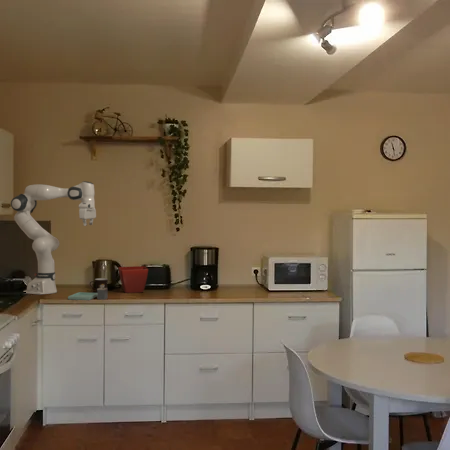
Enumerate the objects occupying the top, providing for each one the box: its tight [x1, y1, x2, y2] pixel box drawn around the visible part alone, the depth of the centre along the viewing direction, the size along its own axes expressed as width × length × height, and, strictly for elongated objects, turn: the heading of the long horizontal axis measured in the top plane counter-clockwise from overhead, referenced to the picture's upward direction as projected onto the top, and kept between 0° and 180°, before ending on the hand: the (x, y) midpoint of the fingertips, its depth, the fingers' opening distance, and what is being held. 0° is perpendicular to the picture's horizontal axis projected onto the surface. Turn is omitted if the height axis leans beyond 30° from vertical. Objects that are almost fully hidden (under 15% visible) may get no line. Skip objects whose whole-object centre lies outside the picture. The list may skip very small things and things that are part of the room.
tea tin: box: [96, 287, 109, 301], centre depth 371 cm, size 5×5×7 cm
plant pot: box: [117, 265, 149, 294], centre depth 400 cm, size 19×19×17 cm
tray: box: [67, 291, 97, 301], centre depth 374 cm, size 15×17×2 cm
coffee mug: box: [89, 277, 109, 292], centre depth 391 cm, size 12×9×10 cm
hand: (88, 225), depth 385 cm, fingers open, 8 cm apart
